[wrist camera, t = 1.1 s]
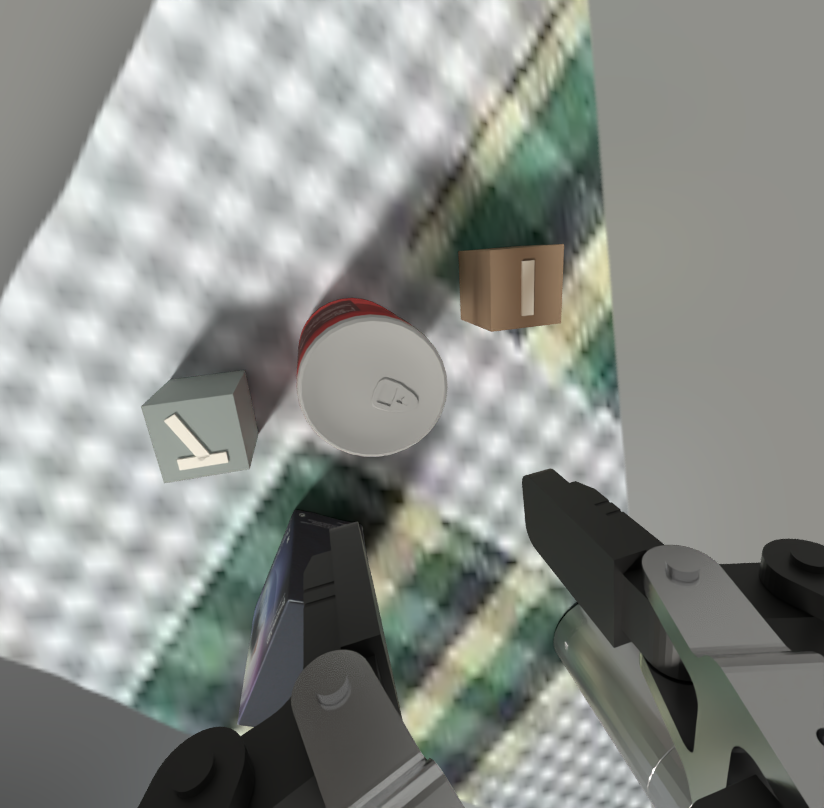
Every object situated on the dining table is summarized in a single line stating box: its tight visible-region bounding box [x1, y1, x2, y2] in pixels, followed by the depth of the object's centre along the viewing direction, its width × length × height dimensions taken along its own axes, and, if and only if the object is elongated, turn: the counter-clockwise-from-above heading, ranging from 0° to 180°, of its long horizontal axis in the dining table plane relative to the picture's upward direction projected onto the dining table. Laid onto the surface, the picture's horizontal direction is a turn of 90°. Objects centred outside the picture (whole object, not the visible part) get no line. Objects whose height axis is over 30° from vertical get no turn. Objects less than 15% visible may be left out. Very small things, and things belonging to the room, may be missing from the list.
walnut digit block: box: [458, 244, 564, 332], centre depth 31 cm, size 5×5×6 cm
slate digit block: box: [141, 370, 258, 483], centre depth 29 cm, size 5×5×6 cm
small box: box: [238, 510, 368, 727], centre depth 33 cm, size 11×6×10 cm, turn 156°
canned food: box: [297, 298, 447, 457], centre depth 28 cm, size 8×8×11 cm
